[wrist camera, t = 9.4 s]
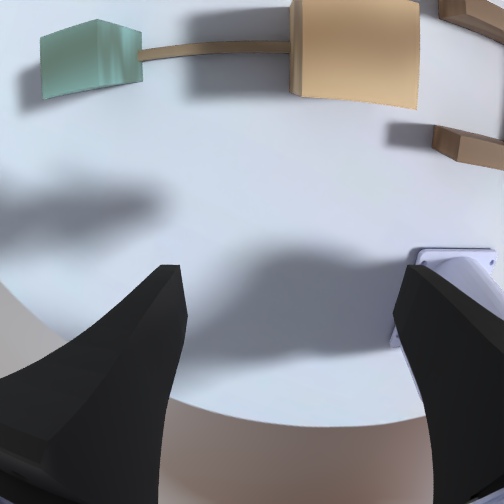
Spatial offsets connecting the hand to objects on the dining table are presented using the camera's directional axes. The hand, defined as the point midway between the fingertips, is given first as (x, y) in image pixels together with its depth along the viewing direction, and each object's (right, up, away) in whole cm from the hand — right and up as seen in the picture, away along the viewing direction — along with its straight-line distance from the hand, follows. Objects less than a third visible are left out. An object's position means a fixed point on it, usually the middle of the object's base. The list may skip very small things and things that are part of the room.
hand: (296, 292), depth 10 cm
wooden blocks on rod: (-2, +12, +4) cm, 13 cm away
